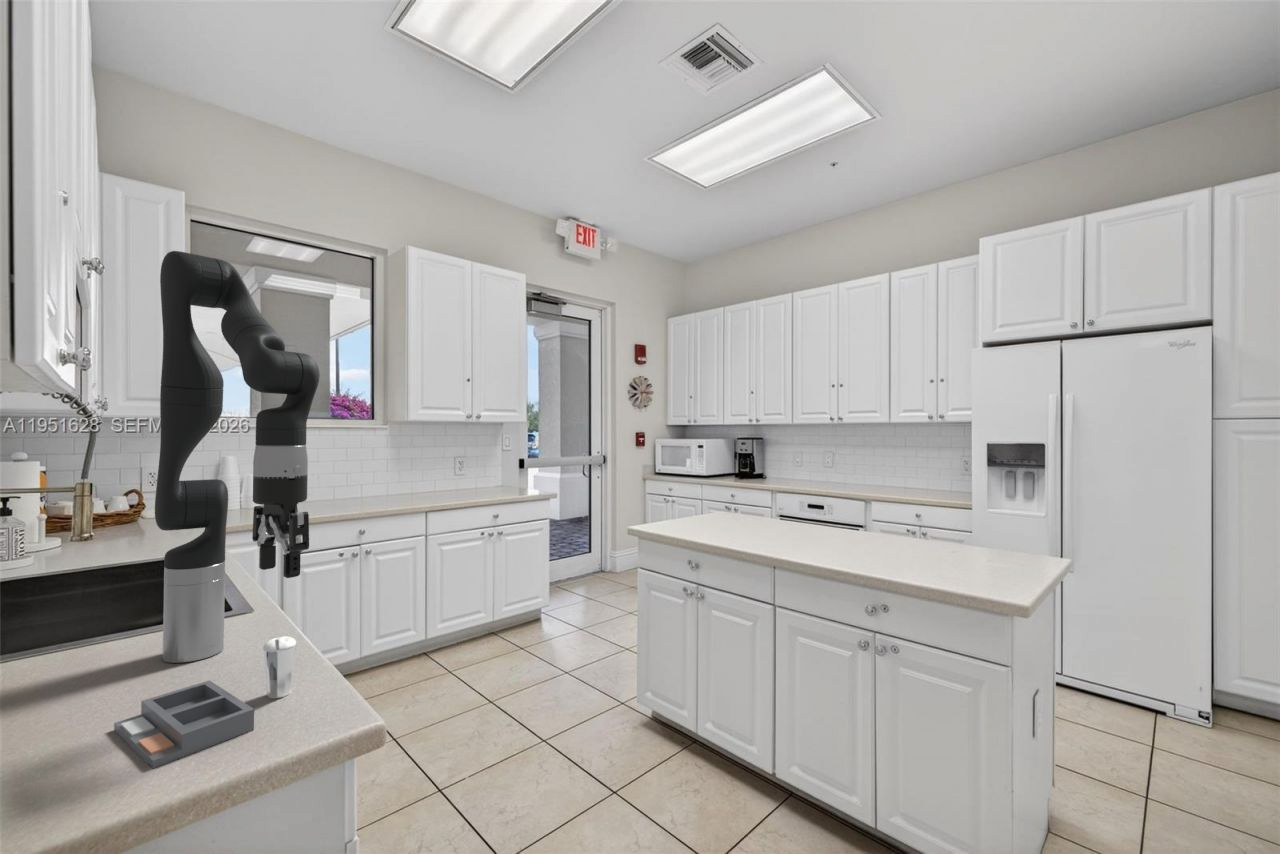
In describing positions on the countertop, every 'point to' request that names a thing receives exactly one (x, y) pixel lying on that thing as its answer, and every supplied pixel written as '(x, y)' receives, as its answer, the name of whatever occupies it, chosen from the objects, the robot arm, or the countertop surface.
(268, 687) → the milkshake
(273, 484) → the robot arm
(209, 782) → the countertop surface
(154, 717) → the dock
